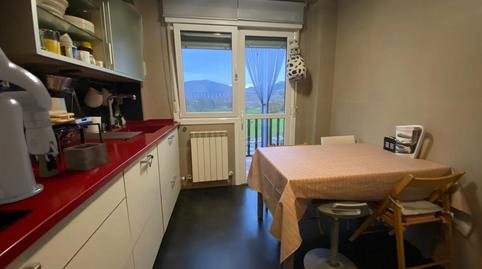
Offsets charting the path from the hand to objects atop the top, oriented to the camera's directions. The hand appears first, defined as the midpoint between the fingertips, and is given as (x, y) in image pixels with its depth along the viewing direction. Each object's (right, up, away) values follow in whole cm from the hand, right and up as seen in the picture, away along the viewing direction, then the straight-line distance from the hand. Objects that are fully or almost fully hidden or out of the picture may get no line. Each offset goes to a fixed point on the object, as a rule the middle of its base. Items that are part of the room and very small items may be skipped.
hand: (48, 169), depth 86 cm
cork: (0, -2, 0) cm, 2 cm away
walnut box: (+9, 0, +10) cm, 14 cm away
